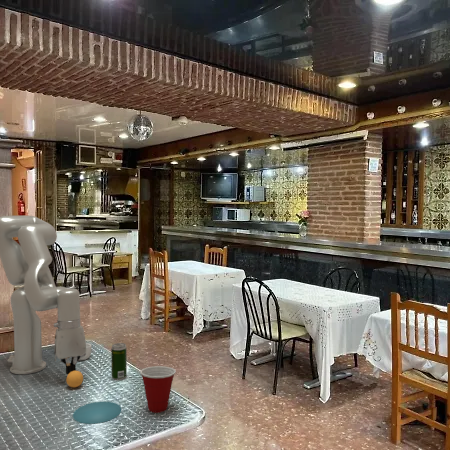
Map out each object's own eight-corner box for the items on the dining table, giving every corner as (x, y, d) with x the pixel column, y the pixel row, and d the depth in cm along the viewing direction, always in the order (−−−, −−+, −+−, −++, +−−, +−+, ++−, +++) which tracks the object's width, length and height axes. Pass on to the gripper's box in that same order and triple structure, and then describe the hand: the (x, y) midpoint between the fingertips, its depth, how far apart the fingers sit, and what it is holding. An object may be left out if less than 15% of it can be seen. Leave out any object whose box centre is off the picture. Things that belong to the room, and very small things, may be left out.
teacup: (94, 358, 177) (94, 345, 176) (76, 363, 171) (76, 350, 171) (83, 353, 184) (83, 340, 184) (66, 357, 179) (66, 344, 178)
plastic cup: (181, 403, 136) (181, 366, 136) (166, 419, 126) (166, 378, 125) (151, 398, 140) (151, 361, 139) (133, 413, 129) (133, 374, 129)
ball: (63, 389, 147) (62, 373, 147) (73, 382, 152) (72, 367, 152) (76, 390, 145) (76, 374, 145) (86, 384, 151) (86, 369, 150)
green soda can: (129, 378, 156) (129, 345, 156) (115, 381, 153) (115, 348, 153) (122, 373, 161) (122, 341, 160) (109, 377, 157) (108, 344, 157)
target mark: (62, 420, 125) (62, 419, 125) (90, 399, 139) (90, 399, 139) (105, 426, 121) (105, 426, 121) (129, 405, 135) (129, 404, 135)
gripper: (50, 330, 146) (52, 383, 146) (93, 322, 155) (95, 373, 155) (44, 325, 152) (46, 377, 152) (86, 318, 161) (88, 367, 161)
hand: (70, 375), depth 154 cm, fingers closed
